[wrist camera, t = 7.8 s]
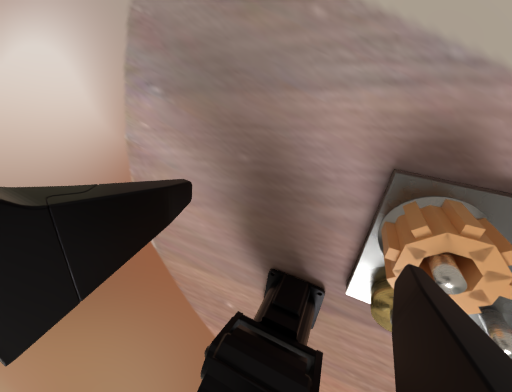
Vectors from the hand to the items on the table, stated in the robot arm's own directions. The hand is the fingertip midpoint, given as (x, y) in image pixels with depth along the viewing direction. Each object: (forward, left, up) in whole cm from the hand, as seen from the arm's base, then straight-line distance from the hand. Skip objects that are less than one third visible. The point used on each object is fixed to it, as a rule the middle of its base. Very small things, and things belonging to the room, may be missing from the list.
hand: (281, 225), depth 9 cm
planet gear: (-4, -9, -11) cm, 15 cm away
